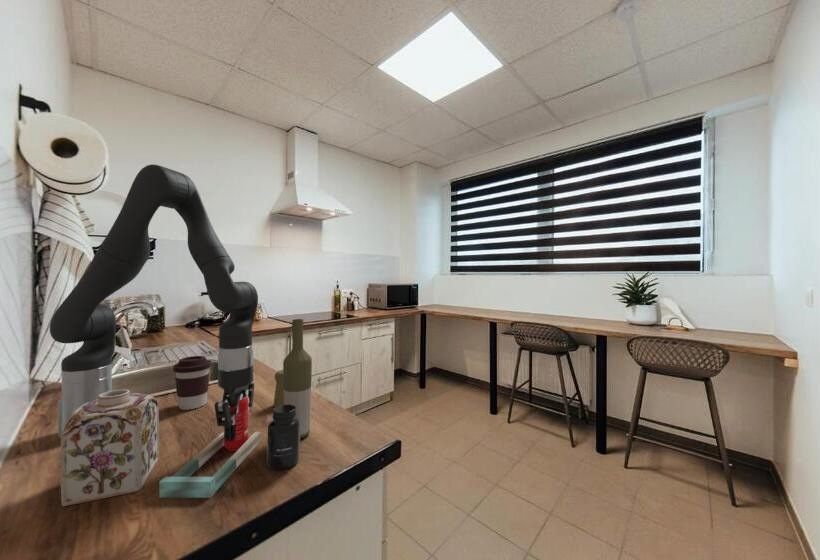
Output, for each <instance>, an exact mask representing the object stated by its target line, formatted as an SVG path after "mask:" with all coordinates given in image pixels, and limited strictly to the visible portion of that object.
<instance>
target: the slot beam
mask: <svg viewBox="0 0 820 560" xmlns="http://www.w3.org/2000/svg"><path fill="white" fill-rule="evenodd" d="M260 442H262V431H254V433H253V434H252V435H251V436H250V437H248V440H247V441H246V442H245V443H244V444H243V445H242V446H241V447H240V449H239V450H236V452H235V453H233V454H232V456H231V457H230V458H228V460H227V461H226V462H225V463H224V464H223V465H222V466H221V467H220V468H219V470H217V471H216V472H215V474H213V476H192V475H193V474H194V473H196V472H197V471H198V470H199V469H200V468H201V467H202V466H203V465H204V464H205V463H206V462H207V461H209V459H210V458H212V457H213V456H214V455H215V454H216V453H217V452H218V451H219V450H220V449H221V448H222V447H223V446H224V431H223V432H221V433H220V434H219V435H218V436H217V437H216V438H214V439H213V440H212V441H211V442H210V443H209V444H208V445H206V446H205V447H204V448H203V449H202V450H200V452H198V453H197V454H196V455H195V456H194V457H192V459H190V460H189V461H187V463H185V465H183V466H182V467H180V468H179V470H177V471H176V472H175V473H174V474H173V475H172V476H165V477H163V478H162V479H161V480H160V481H159V482H158V484H159V485H158V486H159V489H158V490H159V491H158V493H159V495H158V496H159V499H161V498H163V499H164V498H165V499H166V498H167V499H168V498H175V499H176V498H179V499H182V498H183V499H184V498H185V499H187V498H189V499H191V498H192V499H193V498H198V499H200V498H201V499H206V498H207V499H208V498H209V499H211V498H212V497H213V496H214V495H215V493H217V491H218V490H219V489H220V488H221V487H222V485H223V484H224V483H225V482H226V481H227V480H228V478H229V477H230V476H231V475H232V474H233V473H234V472H235V470H236V469H237V468H238V467H240V465H241V464H242V463H243V462H244V460H245V459H246V458H247V457H248V456H249V455H250V453H252V451H253V450H254V449H255V448H256V447H257V445H258V444H259V443H260Z"/></svg>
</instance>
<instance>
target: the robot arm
mask: <svg viewBox="0 0 820 560" xmlns="http://www.w3.org/2000/svg"><path fill="white" fill-rule="evenodd" d="M160 207H163V208H167V209H173V210H175V211H176V212H177V213H178V215H179V216H180V217H181V218H182V220H183V222H184V224H185V225H186V229H187V247H188V251H189V254H190V255H191V257H192V259H193V261H194V263H195V264H196V266H197V268H198V269H199V271H200V273H201V274H202V276H203V279H204V284H205V287H206V290H207V294H208V298H209V300H210V303H212V305H213V306H214V307H215V308H216V309H217V310H219V311H220V312H222V313H229V316H228V319H227V320H226V321H224V322H223V323H222V324H221V325H220V326H219V329H218V330H219V331H218V355H217V385H218V388H221V389H223V394H222V400H221V401H216V402H215V404H214V412H215V417H216V424H217V427H223V432H224V439H225V441H233V440H234V439H235V421H236V415H237V414H238V413H239V402H240V401H241V400H242V398H243V396H246V395H247V398H248V413H249V412H250V408H252V407H253V402H254V394H255V393H254V392H255V383H253V382H254V349H253V325H254V321H255V318H256V313H257V309H258V303H259V295H258V290H257V288H256V287H255V285H254V284H252V283H250V282H248V281H234V280H233V278H232V276H231V274H232V273H233V272H234V271H235V268H236V267H235V264H234V261H233V259H232V258H231V257H230V255H229V254H228V252H227V250H226V248H225V247H224V245H223V243H222V242H221V240H220V239H219V237H218V235H217V233H216V232H215V229H214V227H213V225H212V222H211V220H210V217H209V216H208V212H207V210H206V207H205V205H204V202H203V201H202V197H201V195H200V192H199V190H198V188H197V186H196V185H195V183H194V181H193V180H192V179H191V177H189V176H188V175H186V174H184V173H182V172H180V171H177V170H174V169H171V168H168V167H166V166H162V165H159V164H154V163H153V164H147V165H145V166H144V167H142V168H141V169H140V171H139V172H138V173H137V174H136V175H135V178H134V180H133V182H132V183H131V186H130V188H129V191H128V194H127V195H126V197H125V200H124V203H123V205H122V207H121V208H120V211H119V213H118V215H117V217H116V219H115V220H114V223H113V224H112V226H111V228H110V230H109V231H108V233H107V234H106V236H105V238H104V240H103V241H102V242H101V243H100V245H99V247H98V248H97V251H96V252H95V253H94V255H93V257H92V260H91V261H90V263H89V265H88V267H87V268H86V270H84V271H85V272H84V273H83V274H82V275H81V278H80V279H79V281H78V282H77V283H76V285H75V286H74V288H73V289H72V290H71V292H70V293H69V294H68V295H67V297H66V298H65V299H64V300H63V301H62V302H61V304H60V305H59V307H58V308H57V309H56V311H55V312H54V314H53V316H52V317H51V319H50V325H49V334H50V336H51V337H52V339H53V340H54V341H55V342H57V343H60V344H75V343H76V344H77V343H81V342H83V344H82V345H81V346H80V347H79V348H78V349H76V351H74V352H72V353H71V354H69V355H67V356H65V357H64V358H63V359H62V360H61V365H60V367H61V398H60V399H58V401H57V420H58V421H57V424H58V426H57V429H58V430H57V431H58V433H57V434H58V436H57V437H58V438H61V435H60V434H61V433H62V431H63V430H64V427H65V425H66V423H67V422H68V420H69V417H70V416H71V414H72V413H73V412H74V411H75V410H76V409H77V408H79V407H80V406H82V405H83V404H85V403H88V402H91V401H94V400H96V399H98V396H99V395H100V394H102V393H105V392H109V391H113V388H112V387H113V385H112V383H113V379H112V377H113V376H112V375H113V372H112V371H113V370H112V365H113V364H112V358H113V356H114V354H115V348H116V334H117V332H116V331H117V319H116V315H115V312H114V310H112V308H111V307H110V306H109V305H106V304H103V301H105V300H106V299H107V298H109V297H111V295H113V294H114V293H116V292H118V291H119V290H120V289H122V288H124V286H126V285H128V284H129V283H130V282H132V281H133V280H134V279H135V278H136V277H137V276H139V273H140V272H141V271H142V269H143V267H145V264H146V263H147V261H148V260H149V258H150V256H151V242H150V241H151V240H150V236H149V225H150V222H151V221H152V219H153V217H154V215H155V214H156V212H157V210H159V208H160ZM101 303H102V304H101ZM235 405H236V406H235ZM229 407H235V410H234V411H229ZM230 414H231V415H232V418H230Z"/></svg>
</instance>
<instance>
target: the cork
mask: <svg viewBox="0 0 820 560" xmlns="http://www.w3.org/2000/svg"><path fill="white" fill-rule="evenodd" d="M274 380H275V382H276V384H275V390H274V395H273V396H274V398H273V404H272V406H273V408H274V407H275V408H276V407H277V406H281V405H284V378H283V369H281V370H278V371H276V372H275V373H274Z"/></svg>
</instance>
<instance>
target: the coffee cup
mask: <svg viewBox="0 0 820 560" xmlns="http://www.w3.org/2000/svg"><path fill="white" fill-rule="evenodd" d="M211 367H212V360H210V359H207V357H206V356H204V355H194V356H193V355H192V356H187V357H183V358H180V359H179V361H178V362H177V363H175V364H174V365H173V366H172V371H173V372H174V373H175V378H174V380H175V391H176V396H177V400H178V402H177V403H178V409H180V410H182V411H189V410H190V409H191V410H195V408H196V409H199V408H202V407H203V406H205V405H206V404H207V400H208V399H207V398H208V391H209V384H210V382H209V381H210V368H211ZM201 406H202V407H201ZM191 410H190V411H191Z"/></svg>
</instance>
